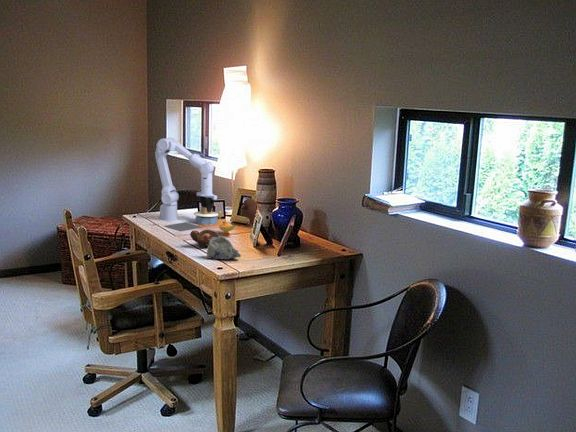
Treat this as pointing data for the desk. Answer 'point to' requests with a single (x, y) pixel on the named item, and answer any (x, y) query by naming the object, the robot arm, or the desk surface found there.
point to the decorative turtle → (203, 237)
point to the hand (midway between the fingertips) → (206, 211)
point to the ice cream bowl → (249, 210)
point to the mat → (183, 226)
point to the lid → (205, 213)
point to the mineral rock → (221, 249)
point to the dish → (206, 220)
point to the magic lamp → (226, 227)
